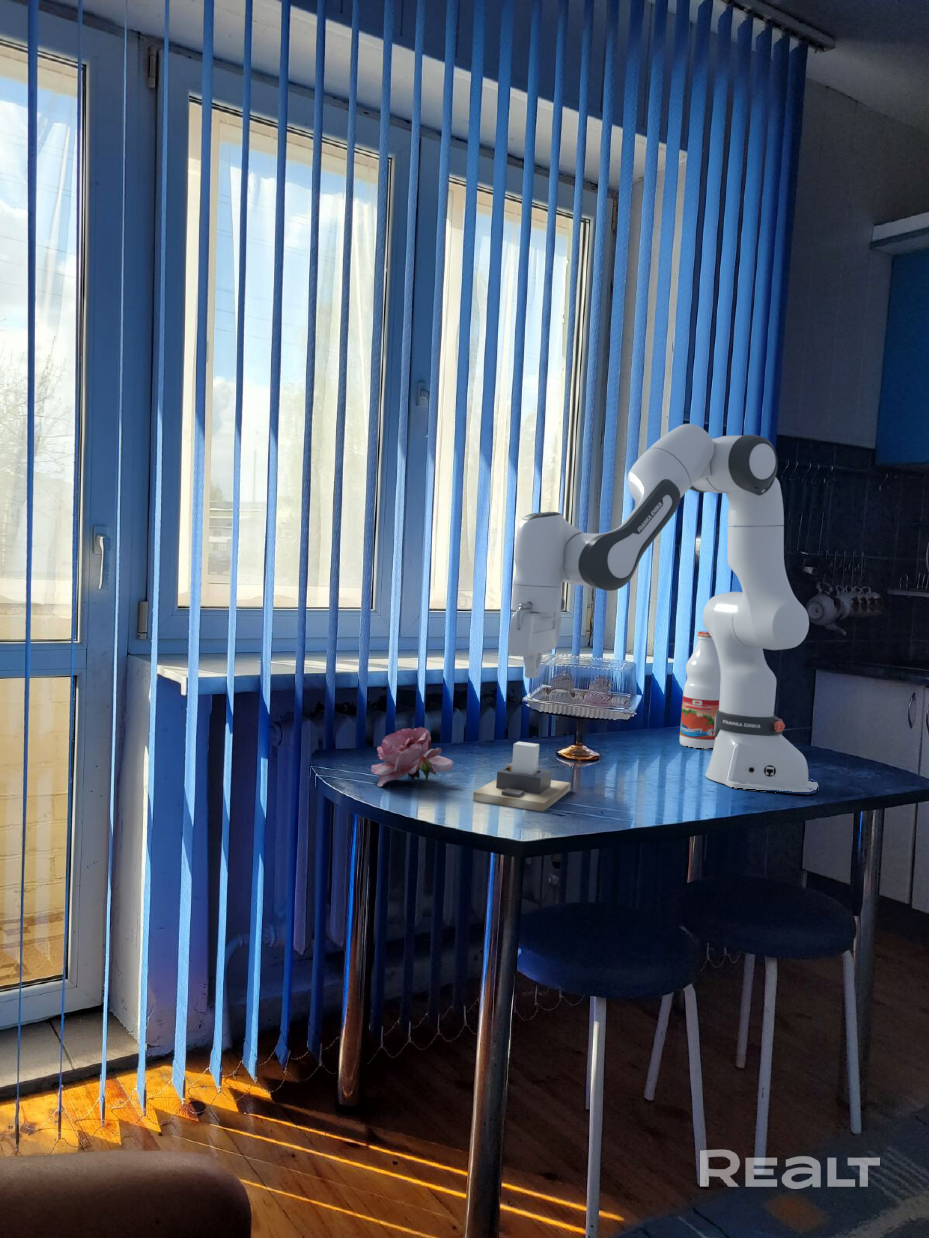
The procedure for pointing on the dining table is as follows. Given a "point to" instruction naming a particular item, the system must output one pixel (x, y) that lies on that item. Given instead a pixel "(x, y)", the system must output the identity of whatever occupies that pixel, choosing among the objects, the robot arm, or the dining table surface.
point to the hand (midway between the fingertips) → (531, 677)
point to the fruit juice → (701, 695)
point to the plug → (525, 758)
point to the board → (521, 796)
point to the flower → (408, 756)
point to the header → (524, 780)
